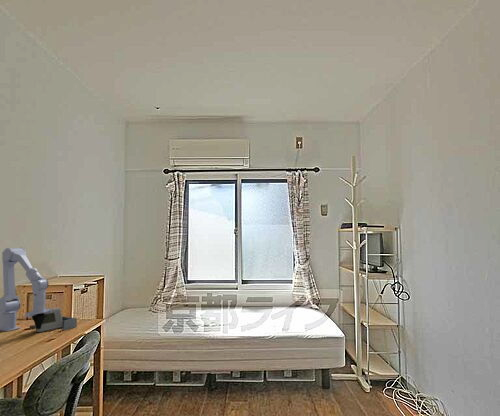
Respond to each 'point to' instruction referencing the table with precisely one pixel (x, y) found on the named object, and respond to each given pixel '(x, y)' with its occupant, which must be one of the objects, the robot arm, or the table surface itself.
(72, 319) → the end cap
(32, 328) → the walnut slat
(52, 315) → the digital clock
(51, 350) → the table surface
